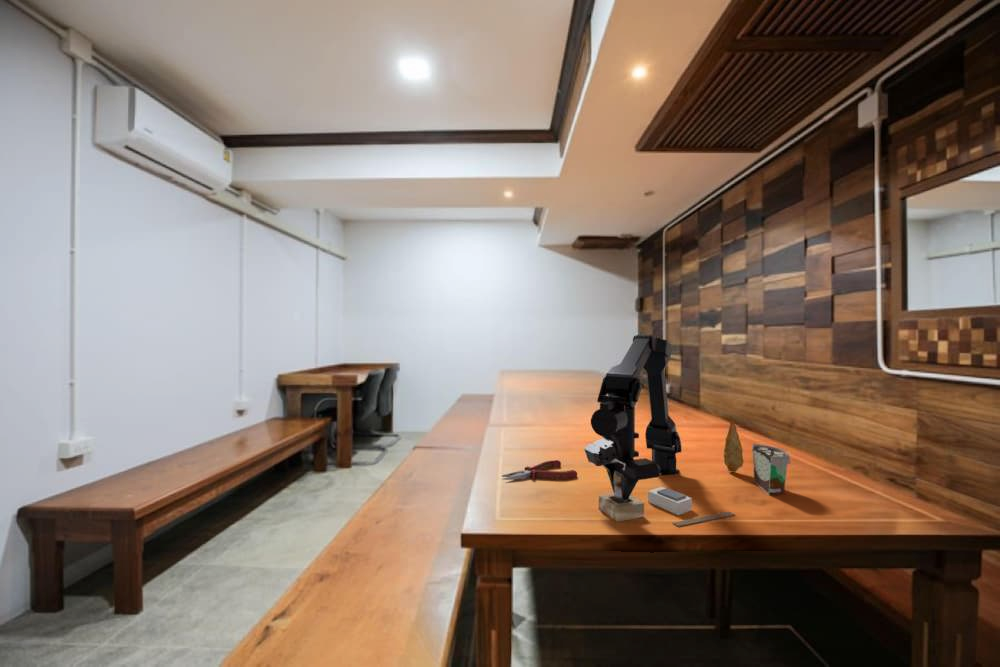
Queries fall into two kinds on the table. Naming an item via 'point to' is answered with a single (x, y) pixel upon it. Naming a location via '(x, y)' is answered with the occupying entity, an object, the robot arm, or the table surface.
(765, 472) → the food container
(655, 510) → the table surface
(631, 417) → the robot arm
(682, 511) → the stud finder
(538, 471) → the pliers
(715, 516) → the bar
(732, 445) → the stone tool
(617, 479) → the flashlight
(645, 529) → the table surface
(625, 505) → the socket block
